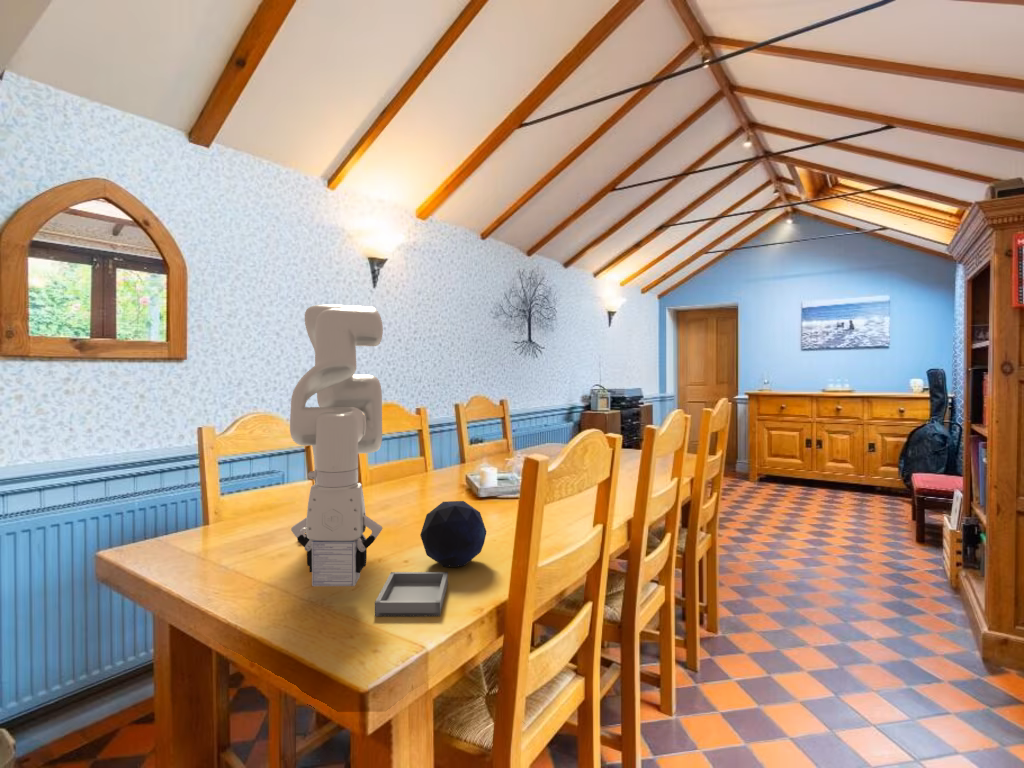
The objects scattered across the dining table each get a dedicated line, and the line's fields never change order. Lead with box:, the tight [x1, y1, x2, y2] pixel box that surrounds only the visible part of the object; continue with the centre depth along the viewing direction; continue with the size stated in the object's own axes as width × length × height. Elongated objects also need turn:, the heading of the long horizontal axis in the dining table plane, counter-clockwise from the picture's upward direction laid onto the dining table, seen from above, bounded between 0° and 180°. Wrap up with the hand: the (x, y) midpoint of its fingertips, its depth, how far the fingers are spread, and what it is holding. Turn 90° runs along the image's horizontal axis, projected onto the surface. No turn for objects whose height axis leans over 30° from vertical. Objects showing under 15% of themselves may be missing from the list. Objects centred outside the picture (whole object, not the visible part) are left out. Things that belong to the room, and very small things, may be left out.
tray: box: [374, 571, 449, 617], centre depth 105 cm, size 12×15×2 cm
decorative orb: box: [420, 500, 487, 568], centre depth 124 cm, size 14×15×15 cm
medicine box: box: [311, 541, 361, 587], centre depth 103 cm, size 8×4×9 cm, turn 92°
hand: (337, 569), depth 103 cm, fingers closed on medicine box, 8 cm apart
